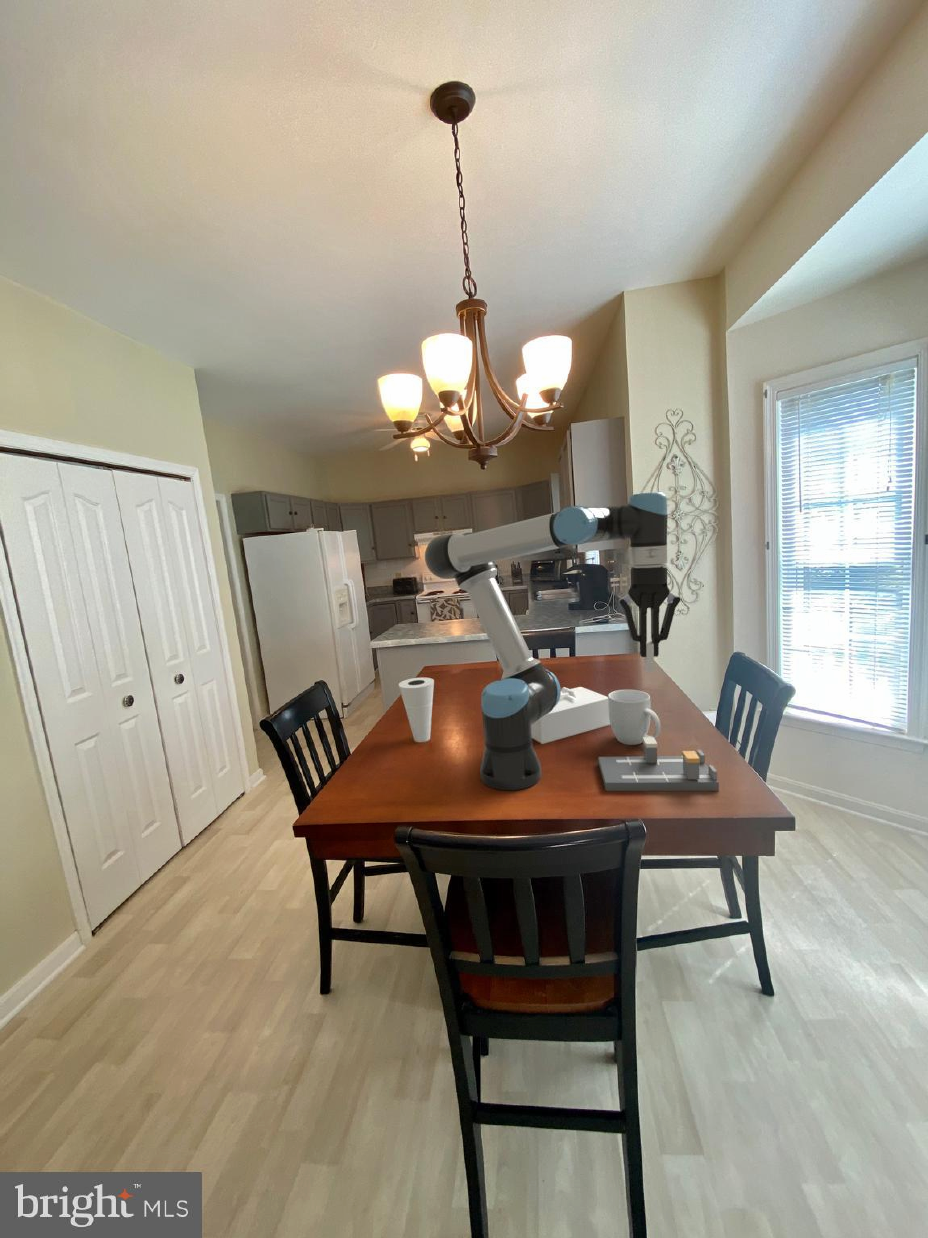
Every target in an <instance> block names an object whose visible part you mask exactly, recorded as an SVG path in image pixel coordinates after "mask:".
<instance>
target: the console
mask: <svg viewBox="0 0 928 1238" xmlns="http://www.w3.org/2000/svg"><path fill="white" fill-rule="evenodd" d="M696 754H697V755H698V757H699V758H700V763H699V779H687V777H686V776H685V774H684V772H683V756H682V755H657V763H647V762H646V760H645V758H644V755H641V756H598V766H599V770H600V775H601V777H602V781H603V785H604V788H605V791H606V792H616V791H617V792H627V791H628V792H642V791H643V792H649V791H650V792H651V791H652V792H653V791H654V792H662V791H663V792H667V791H668V792H672V791H673V792H674V791H675V792H676V791H677V792H678V791H679V792H680V791H682V792H684V791H685V792H688V791H689V792H691V791H692V792H693V791H695V792H699V791H701V792H703V791H704V792H705V791H706V792H708V791H709V792H710V791H711V792H712V791H715V792H716V791H717V792H718V791H720V782H719V781H718V771H717V769H716V768H715V767H714V766H713V765H712V764H709V765H707V764H706V762H705V761H706V757H705V753H704V752H703V751H702V749H696Z"/></svg>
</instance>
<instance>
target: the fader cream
mask: <svg viewBox="0 0 928 1238" xmlns="http://www.w3.org/2000/svg"><path fill="white" fill-rule="evenodd" d="M642 743H643V744H642V745H643V747H642V748H643V750H642V751H643V756H644V758H645V760H646V762H647V763H657V756H658V748H659V747H658V746H659V745H658V742H657V741H656V738H654V737H643V742H642Z"/></svg>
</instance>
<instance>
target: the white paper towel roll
mask: <svg viewBox="0 0 928 1238" xmlns="http://www.w3.org/2000/svg"><path fill="white" fill-rule="evenodd" d="M434 685H435V680H434V679H433V678H431V677H414V678H413V677H412V678H408V679H405V680H403V681H400V682H399V683H398V687H399V691H400V694H401V697H402V701H403V704H404V710H405V713H406V716H407V719H408V722H409V727H410V730H411V733H412V737H413V740H414V742H416V743H426V742H428V741H429V740H430V739H431V730H432V714H433V713H432V712H433V703H434V702H433V699H434V690H435V689H434V687H435V686H434Z"/></svg>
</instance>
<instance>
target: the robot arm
mask: <svg viewBox="0 0 928 1238" xmlns="http://www.w3.org/2000/svg"><path fill="white" fill-rule="evenodd" d="M667 503H668V501H667V495H666V494H665V493H664V492H659V491H655V492H653V491H652V492H643V493H642V492H641V493H636V494H635V493H634V494H632V495H630V496H629V501H628V504H622V505H613V506H611V505H610V506H583V505H582V506H581V505H573V506H569V507H565V508H563V509H562V510H561V511H557V512H553V513H548V514H545V515H540V516H537V517H533V518H529V519H525V520H521V521H517V522H513V523H508V524H506V525H505V524H504V525H501V526H497V527H494V528H490V529H487V530H485V529H484V530H482V531H478V532H465V533H464V532H463V533H460V532H456V533H453V534H452V533H451V534H449V533H448V534H447V533H446V534H440V535H438V536H435V537H434V538H432V540H431V541H429V543H428V544H427V545H426V548H425V552H424V561H425V564H426V567H427V569H428V570H429V572H430V573H431V574H432V575H434V576H435V577H437V578H440V579H445V580H448V579H449V580H451V579H455V582H456V584H457V586H458V588H459V589H460V590H463V591H465V592H466V593H467V595H468V596H469V597H468V598H469V599H470V602H471V604H472V606H473V608H474V610H475V613H476V614H477V616H478V619H479V620H480V621H479V622H480V624H481V625H482V627H483V629H484V631H485V633H486V636H487V638H488V640H489V643H490V644H491V646H492V649H493V651H494V652H495V655H496V657H497V660H498V661H499V663H500V666H501V668H502V670H503V673H502V676H501V679H500V680H495V681H493V682H490V683H489V684H487V685H486V686H485V687H484V688H483V690H482V691H481V703H480V708H481V712H482V713H481V714H482V724H483V736H484V747H485V748H484V751H483V756H482V760H481V764H480V769H479V773H480V780H481V782H482V783H483V784H484V785H486V786H487V787H489V788H492V789H494V790H495V789H496V790H500V791H518V790H524V789H527V788H530V787H532V786H534V785H536V784H537V783H538V782H539V781H540V780H541V778H542V766H541V763H540V759H539V758H538V755H537V752H536V751H535V748H534V746H533V738H532V733H531V725H532V724H533V723H535V722H536V721H537V720H539V719H540V718H541V717H543V716H544V715H546V714H548V713H549V712H551V711H552V710H553V708H554V707H555V706H556V705H557V703H558V702H559V699H560V695H561V689H562V687H561V684H560V682H559V679H558V678H557V676H556V675H555V674H554V673H553V672H551V671H549V670H548V669H547V668H545V667H544V665H543V663H542V661H541V660H539V659H537V658H534V657H533V656H532V654H531V652H530V650H529V647H528V645H527V642H526V640H525V639H524V637H523V634H522V631H521V630H520V628H519V626H518V624H517V622H516V620H515V616H514V615H513V614H512V612H511V611H512V610H511V609H510V606H509V605H508V603H507V600H506V598H505V596H504V593H503V592H502V590H501V588H500V586H499V584H498V581H497V580H496V576H497V573H498V569H497V566H496V562H498V561H503V560H509V559H513V558H519V557H522V556H527V555H533V554H537V553H543V552H547V551H552V550H556V549H562V548H566V547H573V546H579V545H583V544H589V543H598V542H605V541H606V542H607V541H619V540H624V541H625V540H629V546H630V548H629V549H630V550H629V551H630V553H629V554H630V555H629V558H630V560H629V563H630V565H631V566H632V567H631V569H630V573H629V575H630V578H629V579H630V587H629V589H628V591H627V593H628V594H626V595H624V596H623V597H619V598H618V600H617V602H618V603H619V605H620V606H621V608H622V609H623V613H624V616H625V620H626V624H627V628H628V631H629V636H630V638H631V639H632V640H633V641H634V642H638V643H639V655H640V657H641V658H644V659H643V660H644V665H643V666H644V668H643V669H644V670H645V672H646V673H654V672H655V665H654V664H655V658H656V657H657V658H658V657H659V655H660V654H659V653H660V652H659V651H660V650H659V649H660V648H659V645H660V643H661V642H662V641H666V640H668V637H669V634H670V631H671V627H672V623H673V620H674V619H673V618H674V616H675V612H676V608H677V606H678V605H679V603H680V602H681V598H680V597H679V596H677V595H675V594H673V593H671V590H670V588H669V587H668V567H667V566H666V565H665V564H667V563H668V519H669V517H668V515H669V513H668V504H667ZM631 600H632V601H633V602H634V604H635V605H636V606H637V608H638V633H637V627H636V625H635V622H634V617H633V614H632V610H631V607H630V605H631V604H632V603H631ZM665 601H666V602H667V606H666V608H665V612H664V616H663V619H662V623H661V627H660V610H661V609H660V607H661V606H662V605H663V604H664V602H665ZM648 609H650V640H648V639H647V638H648V635H647V634H648V631H647V630H648V629H647V627H648V624H647V623H648V621H647V620H648V619H647V616H648Z"/></svg>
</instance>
